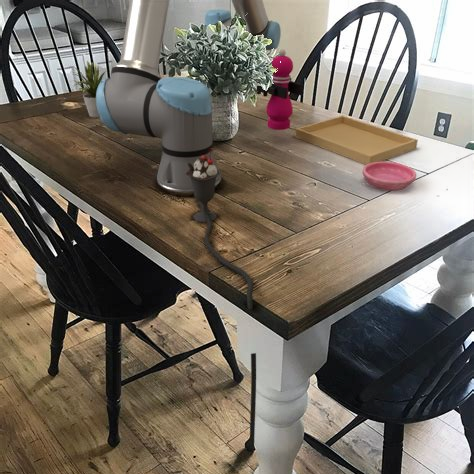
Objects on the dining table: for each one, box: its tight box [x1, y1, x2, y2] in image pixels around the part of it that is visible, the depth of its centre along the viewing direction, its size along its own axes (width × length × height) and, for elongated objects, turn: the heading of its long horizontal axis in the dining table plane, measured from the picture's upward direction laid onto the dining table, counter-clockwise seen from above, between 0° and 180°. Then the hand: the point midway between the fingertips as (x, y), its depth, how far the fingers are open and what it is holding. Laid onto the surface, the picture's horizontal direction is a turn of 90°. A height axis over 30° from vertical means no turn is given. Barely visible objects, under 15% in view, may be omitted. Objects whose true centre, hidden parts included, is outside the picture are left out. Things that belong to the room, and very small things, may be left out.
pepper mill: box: [265, 49, 294, 131], centre depth 146 cm, size 7×7×20 cm
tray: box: [294, 115, 419, 166], centre depth 153 cm, size 28×20×2 cm
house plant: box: [69, 60, 107, 118], centre depth 171 cm, size 14×14×16 cm
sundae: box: [186, 147, 221, 223], centre depth 112 cm, size 7×7×15 cm
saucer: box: [361, 161, 417, 192], centre depth 130 cm, size 12×12×3 cm
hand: (293, 91), depth 143 cm, fingers closed on pepper mill, 5 cm apart
